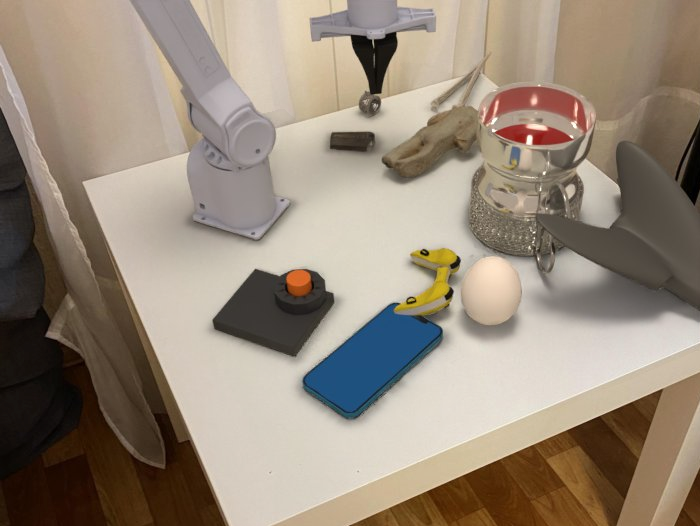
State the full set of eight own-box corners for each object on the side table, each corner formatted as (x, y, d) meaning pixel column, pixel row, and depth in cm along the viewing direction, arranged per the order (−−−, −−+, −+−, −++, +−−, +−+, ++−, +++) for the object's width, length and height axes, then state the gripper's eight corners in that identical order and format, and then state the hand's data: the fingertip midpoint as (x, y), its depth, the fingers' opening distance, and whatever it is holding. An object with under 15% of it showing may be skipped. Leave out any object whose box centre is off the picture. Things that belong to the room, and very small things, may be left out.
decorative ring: (367, 119, 117) (367, 99, 115) (358, 114, 118) (357, 94, 116) (382, 111, 119) (381, 91, 116) (372, 106, 119) (372, 86, 117)
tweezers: (428, 99, 117) (428, 112, 119) (460, 106, 116) (460, 119, 117) (476, 40, 127) (475, 52, 128) (506, 46, 125) (505, 58, 127)
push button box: (214, 329, 91) (209, 309, 89) (260, 273, 97) (256, 253, 95) (295, 356, 89) (292, 336, 86) (337, 297, 94) (335, 277, 92)
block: (332, 141, 115) (331, 128, 114) (376, 139, 115) (375, 126, 114) (330, 153, 113) (328, 141, 111) (374, 151, 112) (373, 138, 111)
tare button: (283, 292, 91) (281, 281, 90) (295, 277, 93) (293, 267, 91) (304, 299, 90) (303, 288, 89) (316, 284, 92) (314, 273, 91)
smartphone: (297, 380, 85) (394, 299, 92) (298, 386, 86) (394, 305, 93) (351, 417, 82) (447, 330, 89) (352, 423, 83) (447, 336, 90)
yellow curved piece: (371, 306, 97) (417, 339, 90) (359, 283, 95) (406, 315, 88) (437, 256, 99) (488, 285, 92) (428, 233, 97) (479, 260, 90)
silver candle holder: (528, 175, 108) (542, 68, 97) (630, 250, 98) (658, 141, 87) (447, 212, 103) (452, 104, 92) (545, 295, 94) (564, 185, 83)
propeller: (756, 307, 100) (815, 255, 95) (697, 379, 81) (766, 318, 76) (615, 178, 104) (663, 120, 99) (527, 217, 85) (581, 148, 80)
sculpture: (413, 199, 107) (494, 143, 112) (410, 168, 103) (494, 111, 109) (375, 177, 110) (456, 124, 116) (371, 146, 107) (454, 93, 112)
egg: (447, 320, 91) (450, 264, 85) (482, 289, 94) (487, 233, 88) (495, 347, 89) (501, 292, 83) (529, 314, 92) (538, 259, 86)
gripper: (308, -1, 91) (318, 112, 101) (441, -11, 92) (438, 102, 102) (304, -30, 96) (314, 81, 106) (431, -39, 96) (429, 72, 107)
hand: (375, 90), depth 104 cm, fingers closed
